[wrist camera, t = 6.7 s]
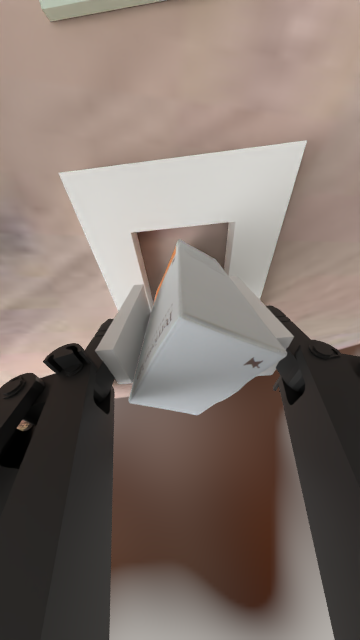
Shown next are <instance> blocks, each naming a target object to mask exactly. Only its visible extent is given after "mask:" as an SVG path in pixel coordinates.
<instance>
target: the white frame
mask: <svg viewBox="0 0 360 640" xmlns="http://www.w3.org/2000/svg"><path fill="white" fill-rule="evenodd" d="M306 143H307V140H305V141H298V142H290V143H282V144H275V145H267V146H260V147H252V148H244V149H237V150H229V151H221V152H214V153H206V154H198V155H191V156H183V157H176V158H168V159H160V160H153V161H145V162H137V163H130V164H122V165H114V166H107V167H99V168H91V169H84V170H76V171H69V172H61V173H59V176H60V178H61V180H62V182H63V185H64V187H65V189H66V192H67V194H68V196H69V199H70V201H71V203H72V206H73V208H74V210H75V212H76V215H77V217H78V219H79V222H80V224H81V226H82V229H83V231H84V233H85V236H86V238H87V240H88V243H89V245H90V247H91V249H92V252H93V254H94V256H95V259H96V261H97V263H98V266H99V268H100V270H101V273H102V275H103V277H104V279H105V282H106V284H107V286H108V289H109V291H110V293H111V296H112V298H113V300H114V303H115V305H116V307H117V310H118V311H119V310H120V308H121V306H122V304H123V303H124V301H125V299H126V298H127V296H128V294H129V293H130V291H131V289H132V288H133V286H134V285H141V284H144V288H145V292H146V296H147V300H148V303H149V307H150V311H152V307H153V299H152V295H151V291H150V287H149V282H148V278H147V274H146V270H145V266H144V261H143V257H142V253H141V249H140V244H139V240H138V236H137V232H142V231H152V230H161V229H170V228H180V227H189V226H198V225H208V224H217V223H226V222H229V223H228V233H227V243H226V253H225V263H224V271H225V272H226V274H227V275H228V276H238V277H239V278H240V279H241V280H242V281H243V282H244V283H245V284H246V286H247V287H248V288H249V289H250V290H251V291H252V292H253V293H254V294H255V295H256V296H257V297H258V298H259V300H260V298H261V294H262V291H263V288H264V284H265V281H266V278H267V274H268V271H269V267H270V264H271V261H272V257H273V254H274V251H275V247H276V244H277V240H278V237H279V234H280V230H281V227H282V224H283V220H284V217H285V213H286V210H287V207H288V203H289V200H290V197H291V193H292V190H293V186H294V183H295V180H296V176H297V173H298V170H299V166H300V163H301V159H302V156H303V153H304V149H305V146H306ZM150 315H151V314H150ZM149 319H150V318H149ZM148 323H149V322H148ZM144 338H145V337H144Z"/></svg>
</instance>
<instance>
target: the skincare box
mask: <svg viewBox="0 0 360 640" xmlns="http://www.w3.org/2000/svg"><path fill="white" fill-rule="evenodd" d="M286 356H287V352H286V350H285V349H284V348H283V346H282V345H281V344H280V343H279V341H278V340H277V339H276V338H275V336H274V335H273V334H272V332H271V331H270V330H269V329H268V328H267V326H266V325H265V324H264V323H263V321H262V320H261V318H260V317H259V316H258V314H257V313H256V312H255V310H254V309H253V308H252V306H251V305H250V304H249V302H248V301H247V300H246V298H245V297H244V296H243V295H242V293H241V292H240V291H239V289H238V288H237V287H236V285H235V284H234V283H233V281H232V280H231V279H230V277H229V276H228V275H227V274H226V272H225V271H224V270H223V268H222V267H221V266H220V264H219V263H218V262H217V261H216V259H214V258H212V257H211V256H209V255H207V254H205V253H204V252H202V251H200V250H198V249H196V248H195V247H193V246H191V245H189V244H187V243H185V242H184V241H182V240H180V239H179V240H178V242H177V244H176V247H175V249H174V252H173V254H172V257H171V259H170V262H169V264H168V267H167V269H166V271H165V274H164V276H163V278H162V280H161V282H160V285H159V287H158V289H157V292H156V296H155V299H154V303H153V307H152V311H151V315H150V319H149V323H148V326H147V330H146V334H145V338H144V342H143V346H142V350H141V354H140V358H139V361H138V365H137V369H136V373H135V377H134V381H133V385H132V389H131V393H130V397H129V403H132V404H139V405H144V406H150V407H156V408H162V409H167V410H173V411H178V412H183V413H189V414H193V415H199V414H200V413H202V412H203V411H205V410H206V409H208V408H209V407H211V406H212V405H214V404H215V403H217V402H220V401H222V400H225V399H227V398H228V397H230V396H231V395H232V394H234V393H236V392H237V391H238V390H240V389H241V388H242V387H243V386H244V385H245V384H246V383H247V382H248V381H250V380H251V379H253V378H254V377H256V376H257V375H259V374H260V373H262V372H263V371H265V370H266V369H268V368H269V367H271V366H272V365H274V364H275V363H277V362H279V361H280V360H282V359H283V358H284V357H286Z"/></svg>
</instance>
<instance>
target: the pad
mask: <svg viewBox="0 0 360 640" xmlns="http://www.w3.org/2000/svg"><path fill="white" fill-rule="evenodd" d="M160 1H165V0H39V2H40V5H41V8H42V10H43V12H44V13H45V15H46V16H47V17H48V19H49V20H50V22H51V21H57V20H62V19H68V18H73V17H79V16H84V15H89V14H95V13H100V12H106V11H111V10H116V9H122V8H127V7H133V6H138V5H144V4H149V3H154V2H160Z"/></svg>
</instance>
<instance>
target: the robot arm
mask: <svg viewBox="0 0 360 640" xmlns="http://www.w3.org/2000/svg"><path fill="white" fill-rule="evenodd" d="M229 277H230V279H231V280H232V281H233V283H234V284H235V285H236V287H237V288H238V289H239V291H240V292H241V293H242V295H243V296H244V297H245V298H246V300H247V301H248V302H249V304H250V305H251V306H252V308H253V309H254V310H255V312H256V313H257V314H258V316H259V317H260V318H261V320H262V321H263V323H264V324H265V325H266V326H267V328H268V329H269V330H270V331H271V332H272V334H273V335H274V336H275V338H276V339H277V340H278V341H279V343H280V344H281V345H282V346H283V348H284V349H285V350H286V352H287V356H286V357H284V358H283V359H282V360H280V361H279V362H277V363H275V364H274V365H272V366H271V367H269V368H268V369H266V370H265V371H263V372H262V373H260V374H259V375H257V376H263V375H272V374H273V372H274V371H275V369H277V370H278V372H279V373H280V377H279V378H278V380H277V381H276V383H275V385H274V386H273V390H275V391H276V390H277V388H278V387H279V388H280V391H279V392H281V397H282V402H283V406H284V411H285V416H286V420H287V425H288V429H289V434H290V438H291V443H292V447H293V452H294V456H295V461H296V466H297V470H298V474H299V479H300V483H301V488H302V493H303V497H304V502H305V506H306V511H307V515H308V520H309V524H310V529H311V534H312V538H313V542H314V547H315V552H316V556H317V561H318V565H319V570H320V575H321V579H322V584H323V588H324V593H325V597H326V602H327V607H328V611H329V616H330V620H331V625H332V629H333V634H334V638H335V640H360V357H359V356H353V355H346V354H341V353H340V352H339V351H338V350H337V349H335V348H334V347H332V346H331V345H329V344H326V343H324V342H321V341H317V340H311V339H309V338H308V337H307V336H306V335H305V334H304V333H303V332H302V331H301V330H300V329H299V328H298V327H297V326H296V325H295V324H294V323H293V322H291V320H290V319H289V318H288V317H286V315H285V314H284V313H283V312H281V311H280V310H279V309H277V308H275V307H273V306H265V305H264V304H263V303H262V302H261V301H260V300H259V298H258V297H257V296H256V295H255V294H254V293H253V292H252V291H251V290H250V289H249V288H248V287H247V286H246V284H245V283H244V282H243V281H242V280H241V279H240V278H239V277H238V276H229ZM150 314H151V311H150V307H149V303H148V300H147V296H146V292H145V288H144V284H141V285H134V286H133V288H132V289H131V291H130V293H129V294H128V296H127V298H126V299H125V301H124V303H123V304H122V306H121V308H120V310H119V311H118V313H117V315H116V316H115V318H114V319H108V320H107V321H106V322H105V323H103V324H102V325H101V327H100V328H99V330H98V332H97V333H96V334H95V337H93V339H92V340H91V342H90V343H89V345H88V346H87V348H86V349H85V351H84V349H83V348H82V347H81V346H80V345H79V344H76V343H72V344H67V345H64V346H62V347H59V348H58V349H56V350H54V351H53V352H52V353H50V354H49V355H48V356H47V357H46V358H45V360H44V361H43V362H44V363H45V364H46V365H47V366H48V367H49V368H50V369H51V370H53V371H54V372H55V374H52V375H49V376H46V377H43V378H39V377H37V376H36V375H35V374H33V373H26V374H22V375H19V376H17V377H15V378H13V379H11V380H10V381H9V382H7V383H6V384H4V385H3V386H2V387H1V388H0V640H109V624H110V623H109V622H110V578H111V577H110V576H111V574H110V573H111V531H112V484H113V483H112V482H113V436H114V435H113V434H114V433H113V432H114V388H113V387H112V384H113V381H114V379H115V380H116V381H117V383H118V384H130V383H133V379H134V375H135V372H136V368H137V364H138V360H139V356H140V353H141V349H142V345H143V341H144V337H145V334H146V330H147V326H148V322H149V318H150ZM22 420H23V421H26V422H28V423H30V424H29V425H28V426H27V428H26V429H24V430H23V431H22V430H19V429H17V427H18V425H19V424H20V422H21V421H22Z"/></svg>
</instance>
